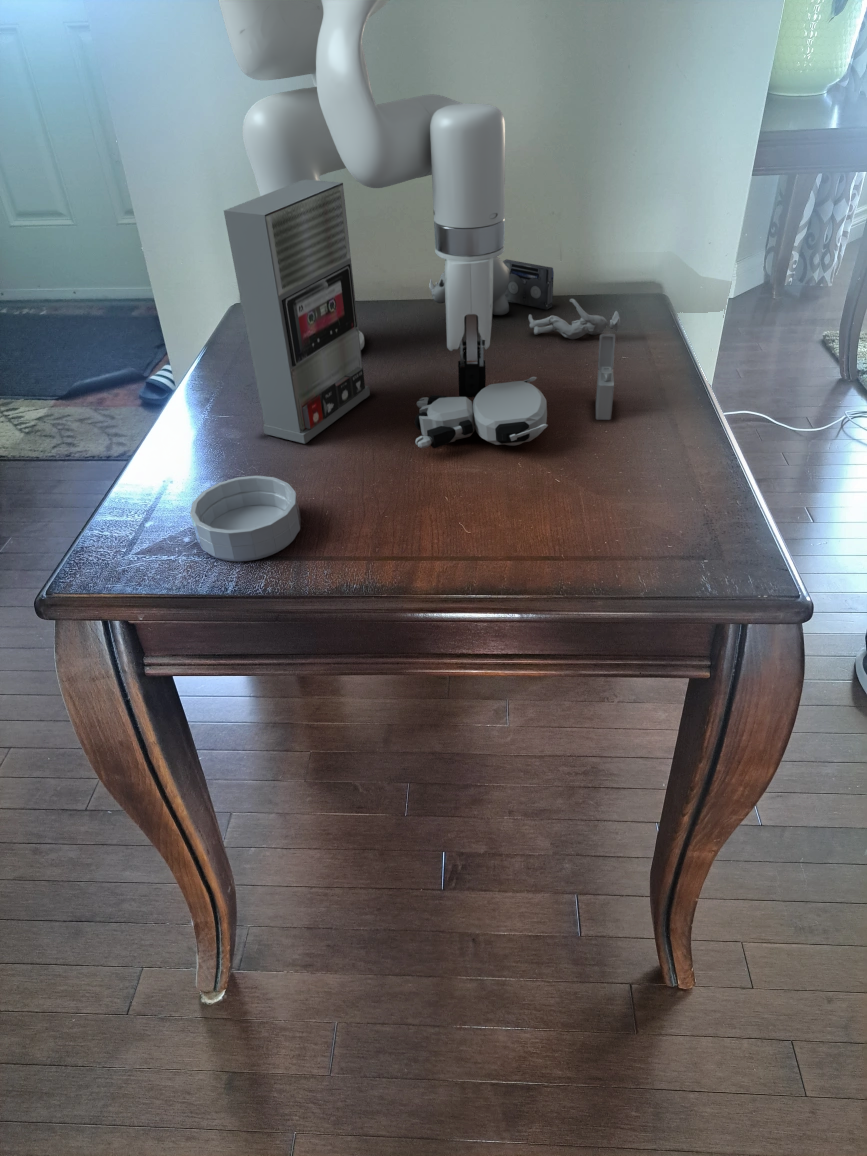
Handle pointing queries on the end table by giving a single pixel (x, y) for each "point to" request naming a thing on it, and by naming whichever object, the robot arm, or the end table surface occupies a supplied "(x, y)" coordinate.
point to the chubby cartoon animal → (499, 287)
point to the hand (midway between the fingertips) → (472, 394)
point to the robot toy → (484, 415)
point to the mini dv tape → (530, 284)
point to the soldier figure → (575, 324)
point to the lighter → (605, 377)
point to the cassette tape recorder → (299, 305)
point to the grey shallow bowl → (246, 518)
